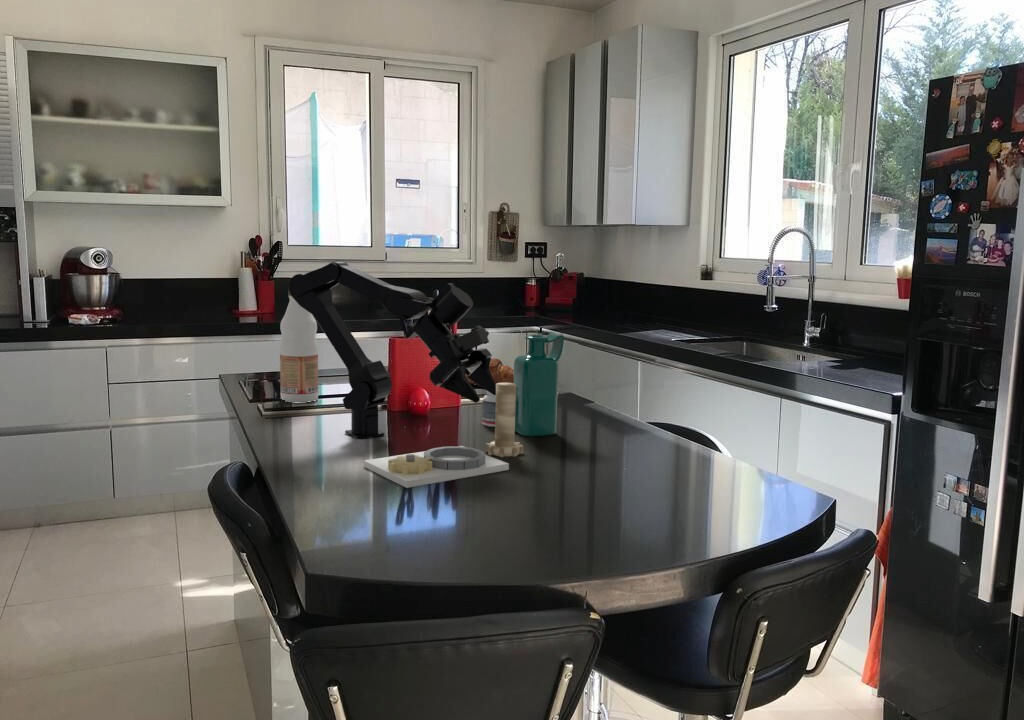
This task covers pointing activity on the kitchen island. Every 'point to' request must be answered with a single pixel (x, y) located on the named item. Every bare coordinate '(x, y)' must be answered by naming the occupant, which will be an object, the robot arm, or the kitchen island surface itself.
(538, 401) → the pitcher
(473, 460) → the gear board
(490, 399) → the pill bottle
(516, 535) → the kitchen island surface
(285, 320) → the fruit juice
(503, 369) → the pastry
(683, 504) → the kitchen island surface
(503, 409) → the disc
